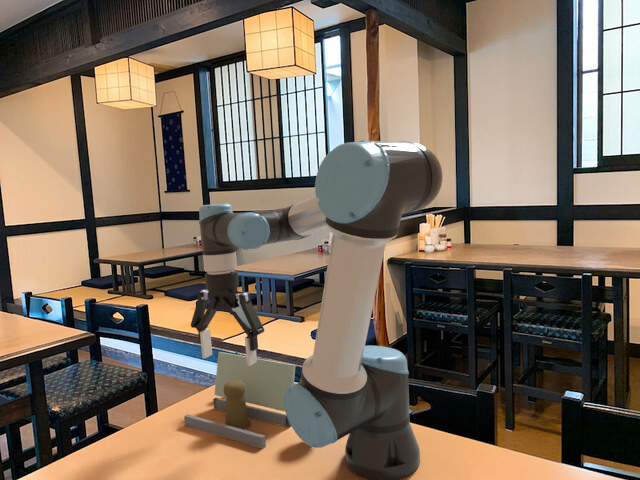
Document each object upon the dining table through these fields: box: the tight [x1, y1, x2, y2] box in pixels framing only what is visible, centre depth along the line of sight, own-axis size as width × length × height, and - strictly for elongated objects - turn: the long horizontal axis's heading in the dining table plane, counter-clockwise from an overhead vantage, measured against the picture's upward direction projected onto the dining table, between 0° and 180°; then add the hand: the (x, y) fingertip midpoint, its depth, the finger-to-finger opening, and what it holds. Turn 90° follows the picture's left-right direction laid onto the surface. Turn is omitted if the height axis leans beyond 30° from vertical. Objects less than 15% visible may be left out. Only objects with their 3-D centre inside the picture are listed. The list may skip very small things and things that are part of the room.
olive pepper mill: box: [223, 380, 251, 430], centre depth 118 cm, size 6×6×11 cm
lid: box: [214, 351, 296, 413], centre depth 124 cm, size 24×11×1 cm
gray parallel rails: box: [183, 397, 292, 449], centre depth 119 cm, size 24×11×2 cm, turn 59°
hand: (229, 360), depth 117 cm, fingers open, 13 cm apart
